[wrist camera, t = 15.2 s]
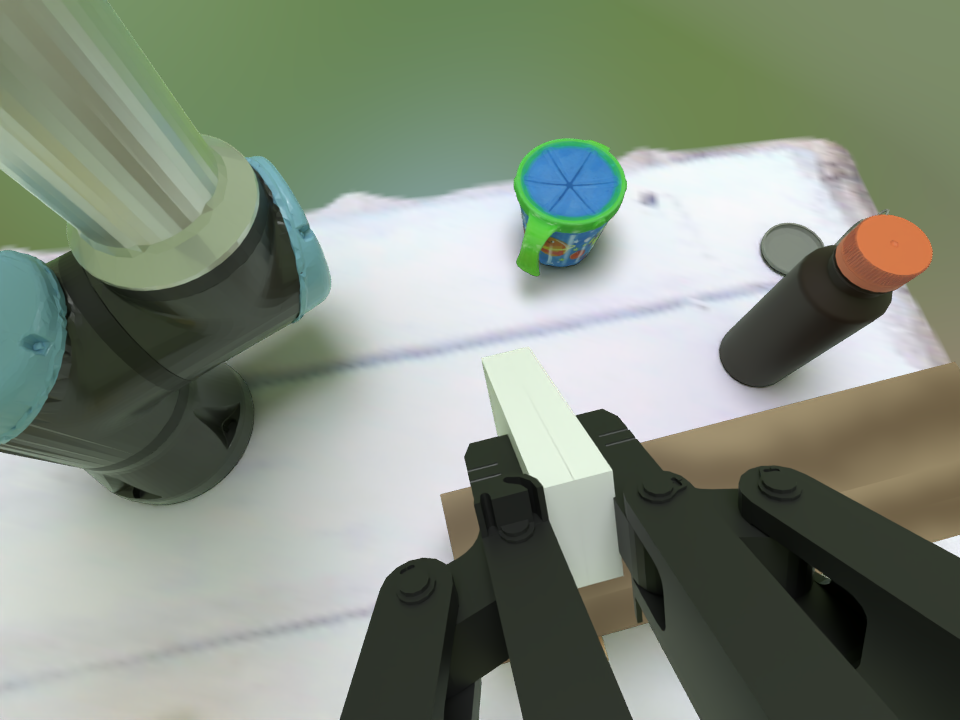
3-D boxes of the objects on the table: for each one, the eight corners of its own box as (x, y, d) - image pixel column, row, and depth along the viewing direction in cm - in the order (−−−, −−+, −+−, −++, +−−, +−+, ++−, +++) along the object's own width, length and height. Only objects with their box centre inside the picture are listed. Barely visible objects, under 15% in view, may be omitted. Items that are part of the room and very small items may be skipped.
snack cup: (560, 175, 61) (572, 105, 52) (635, 219, 59) (662, 154, 49) (479, 263, 57) (476, 204, 48) (556, 315, 55) (569, 263, 45)
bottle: (704, 354, 52) (819, 241, 34) (745, 314, 54) (877, 185, 35) (758, 401, 50) (912, 308, 32) (799, 359, 52) (969, 246, 33)
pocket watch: (756, 225, 58) (806, 162, 49) (833, 232, 57) (899, 169, 48) (761, 288, 55) (816, 233, 46) (842, 296, 55) (914, 241, 45)
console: (870, 525, 46) (1049, 509, 31) (483, 633, 44) (477, 670, 29) (816, 421, 50) (954, 361, 35) (457, 515, 47) (440, 494, 32)
